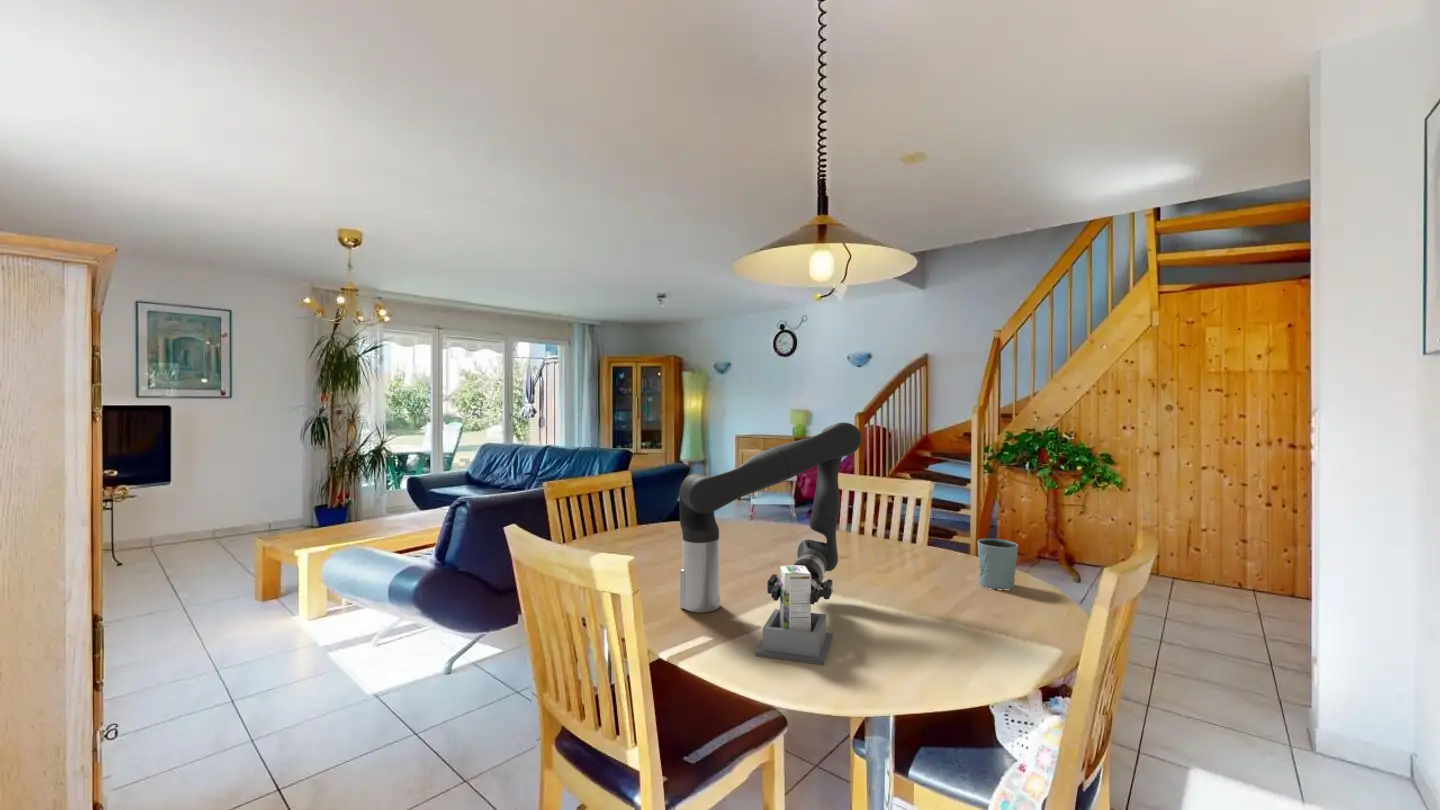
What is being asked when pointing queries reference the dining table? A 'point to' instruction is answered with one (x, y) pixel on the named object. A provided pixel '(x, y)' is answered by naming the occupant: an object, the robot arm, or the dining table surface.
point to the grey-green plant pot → (997, 563)
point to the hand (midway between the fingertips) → (793, 597)
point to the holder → (795, 641)
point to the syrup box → (795, 598)
